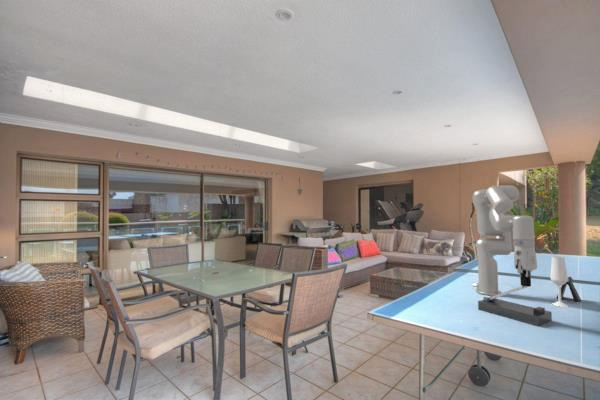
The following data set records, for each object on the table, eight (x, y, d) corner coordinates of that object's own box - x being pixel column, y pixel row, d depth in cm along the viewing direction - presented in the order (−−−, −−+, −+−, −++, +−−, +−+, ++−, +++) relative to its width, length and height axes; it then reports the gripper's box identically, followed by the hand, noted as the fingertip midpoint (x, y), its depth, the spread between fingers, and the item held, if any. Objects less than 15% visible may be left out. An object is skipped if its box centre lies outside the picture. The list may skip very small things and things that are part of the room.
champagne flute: (572, 307, 142) (570, 258, 143) (556, 306, 144) (554, 257, 145) (563, 303, 149) (561, 256, 150) (548, 302, 150) (546, 255, 151)
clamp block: (478, 309, 139) (477, 297, 140) (492, 305, 145) (491, 294, 145) (538, 326, 118) (537, 312, 119) (551, 321, 124) (551, 307, 125)
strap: (487, 300, 140) (486, 298, 140) (491, 299, 142) (490, 297, 142) (523, 288, 127) (522, 285, 127) (527, 287, 129) (526, 284, 129)
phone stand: (581, 300, 154) (580, 277, 155) (579, 302, 150) (578, 279, 151) (558, 296, 161) (557, 274, 162) (556, 298, 157) (555, 276, 158)
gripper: (525, 244, 122) (527, 289, 121) (542, 243, 129) (544, 285, 128) (505, 243, 128) (507, 285, 127) (522, 242, 136) (524, 282, 134)
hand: (525, 285), depth 127 cm, fingers closed
